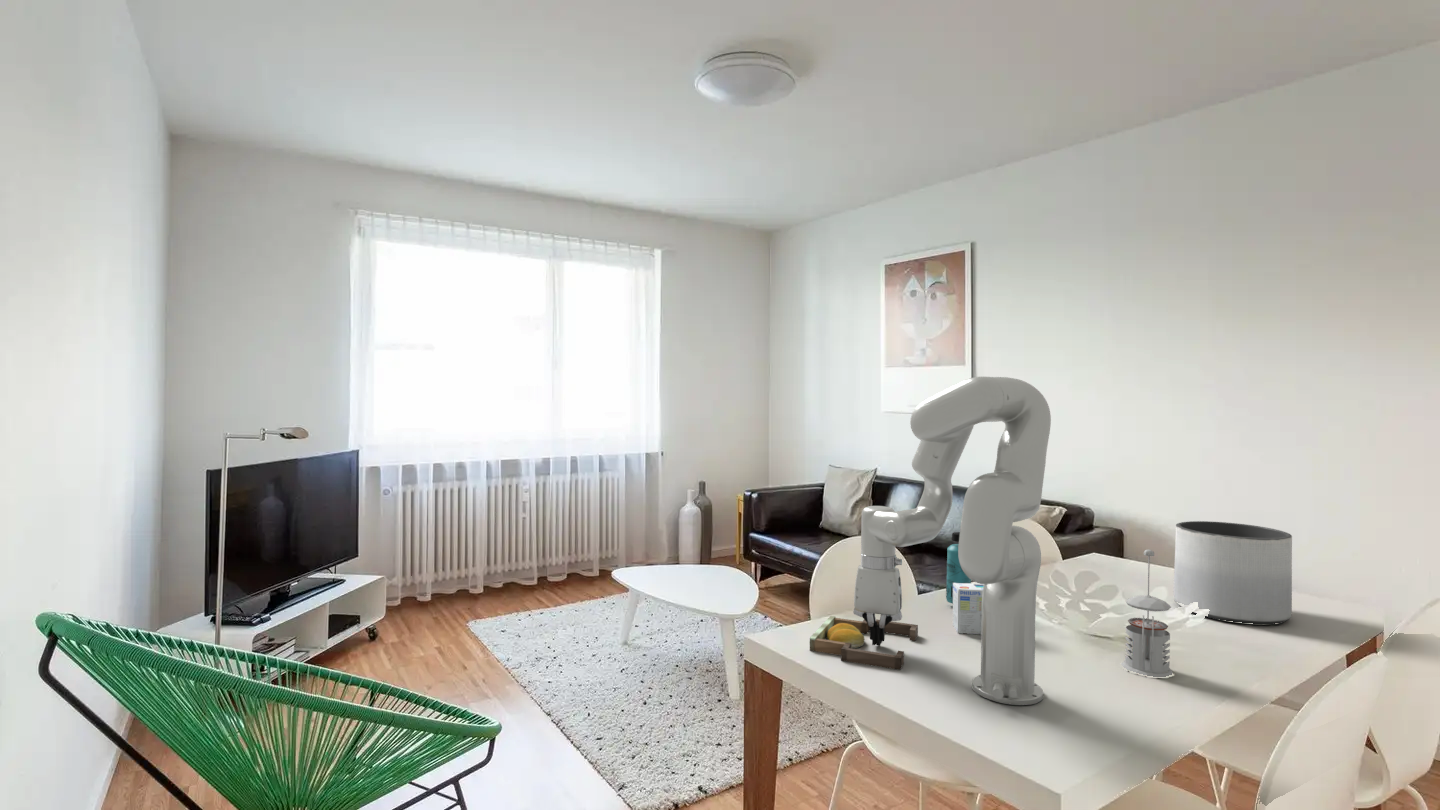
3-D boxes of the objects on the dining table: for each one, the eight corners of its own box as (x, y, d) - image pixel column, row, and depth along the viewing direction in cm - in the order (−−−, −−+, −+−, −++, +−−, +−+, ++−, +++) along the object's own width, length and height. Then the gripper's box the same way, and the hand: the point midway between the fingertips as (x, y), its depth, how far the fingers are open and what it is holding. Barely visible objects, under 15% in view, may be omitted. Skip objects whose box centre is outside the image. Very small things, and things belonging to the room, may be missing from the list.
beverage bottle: (954, 602, 195) (955, 529, 195) (976, 607, 190) (977, 533, 190) (940, 606, 191) (941, 532, 191) (962, 612, 186) (963, 536, 186)
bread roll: (831, 650, 158) (832, 632, 158) (824, 636, 167) (824, 619, 167) (868, 650, 158) (869, 632, 158) (859, 636, 167) (859, 619, 167)
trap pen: (900, 670, 146) (900, 656, 146) (805, 654, 154) (805, 641, 154) (917, 635, 168) (917, 623, 168) (833, 623, 176) (833, 612, 176)
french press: (1174, 666, 150) (1176, 548, 149) (1176, 685, 140) (1178, 558, 139) (1120, 657, 155) (1122, 542, 154) (1118, 675, 145) (1121, 552, 144)
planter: (1280, 635, 171) (1282, 543, 170) (1160, 610, 189) (1162, 527, 189) (1300, 613, 188) (1301, 530, 188) (1188, 593, 207) (1190, 517, 206)
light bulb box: (995, 626, 175) (996, 583, 175) (1004, 636, 168) (1004, 590, 168) (951, 625, 176) (951, 581, 176) (957, 634, 169) (958, 588, 169)
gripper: (914, 561, 160) (913, 643, 160) (848, 555, 166) (848, 633, 166) (909, 569, 153) (908, 654, 153) (841, 562, 159) (840, 644, 159)
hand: (877, 643), depth 160 cm, fingers closed
